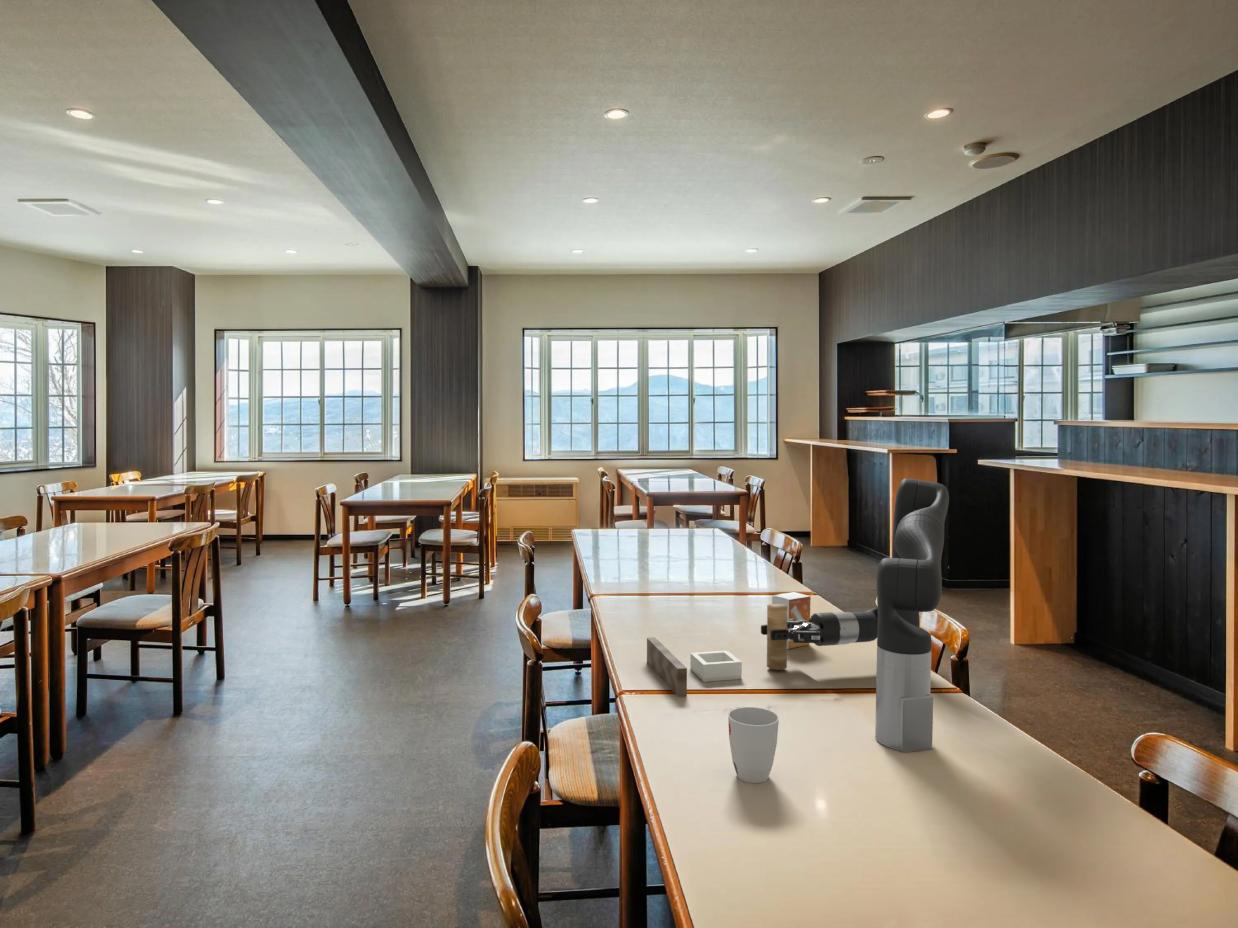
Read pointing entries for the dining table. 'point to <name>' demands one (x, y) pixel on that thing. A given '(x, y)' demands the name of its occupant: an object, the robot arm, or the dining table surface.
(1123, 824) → the dining table surface
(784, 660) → the oak dowel
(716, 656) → the white square tray
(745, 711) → the cup
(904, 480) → the robot arm
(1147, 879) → the dining table surface
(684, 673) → the board
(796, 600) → the small box
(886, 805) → the dining table surface
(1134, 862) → the dining table surface
